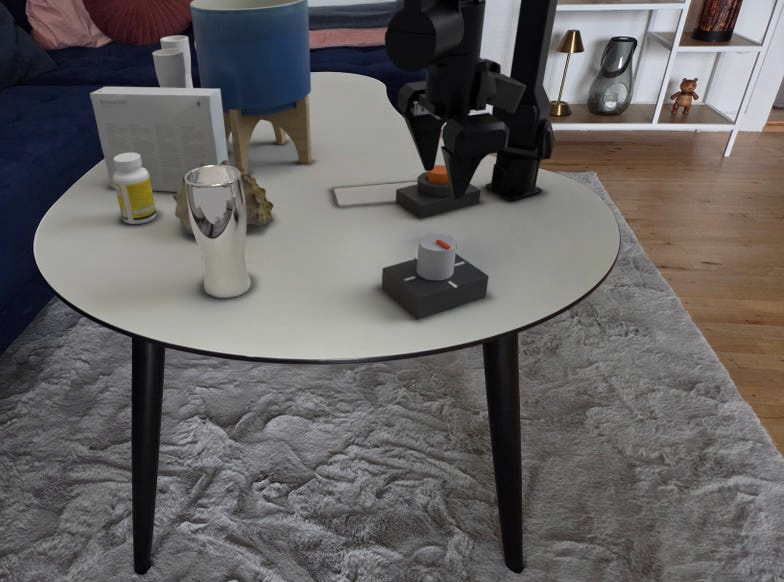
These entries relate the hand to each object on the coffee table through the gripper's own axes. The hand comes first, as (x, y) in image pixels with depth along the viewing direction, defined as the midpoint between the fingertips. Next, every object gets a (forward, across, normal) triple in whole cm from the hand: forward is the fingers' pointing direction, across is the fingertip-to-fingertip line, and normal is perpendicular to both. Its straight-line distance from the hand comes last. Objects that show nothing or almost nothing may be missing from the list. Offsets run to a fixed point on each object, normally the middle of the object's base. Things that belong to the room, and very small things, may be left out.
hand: (442, 183), depth 80 cm
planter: (+11, +46, +16) cm, 50 cm away
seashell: (+11, +19, +26) cm, 34 cm away
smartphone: (+11, +23, 0) cm, 25 cm away
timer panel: (+10, -8, +4) cm, 14 cm away
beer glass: (+10, +1, +29) cm, 30 cm away
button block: (+11, +17, -7) cm, 21 cm away
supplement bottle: (+10, +26, +39) cm, 48 cm away
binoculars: (+11, +61, +29) cm, 68 cm away
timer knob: (+7, -8, +4) cm, 12 cm away
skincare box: (+11, +38, +34) cm, 52 cm away
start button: (+7, +17, -7) cm, 19 cm away
